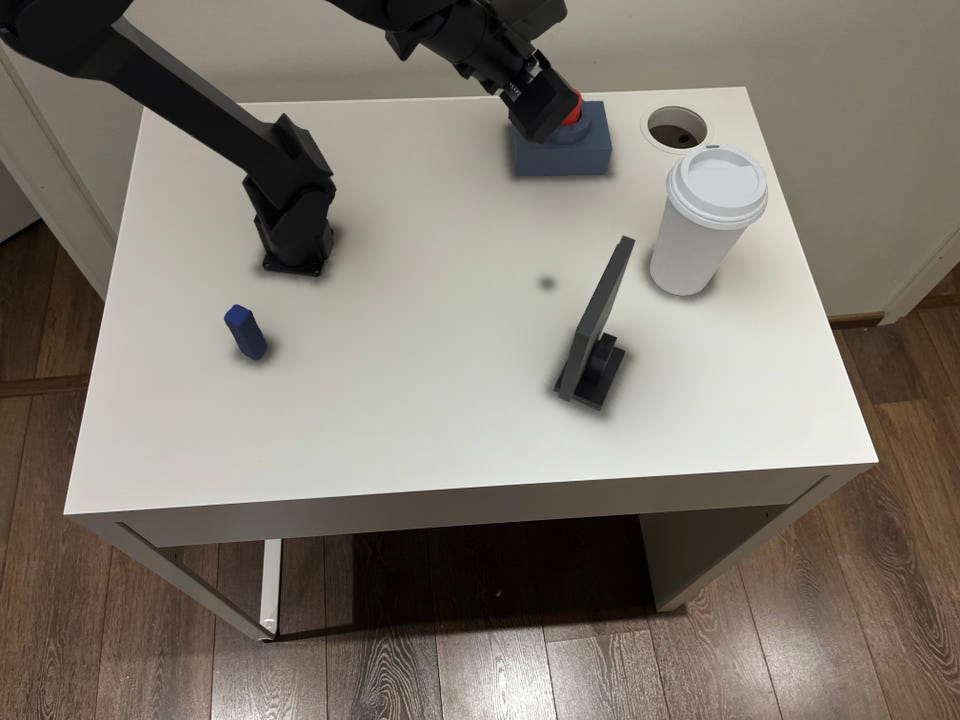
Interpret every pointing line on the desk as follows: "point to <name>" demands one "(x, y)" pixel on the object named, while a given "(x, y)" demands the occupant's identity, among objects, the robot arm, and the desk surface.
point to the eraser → (246, 331)
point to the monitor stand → (597, 373)
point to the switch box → (567, 147)
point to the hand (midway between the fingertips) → (549, 93)
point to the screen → (595, 317)
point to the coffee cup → (705, 215)
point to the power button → (573, 113)
